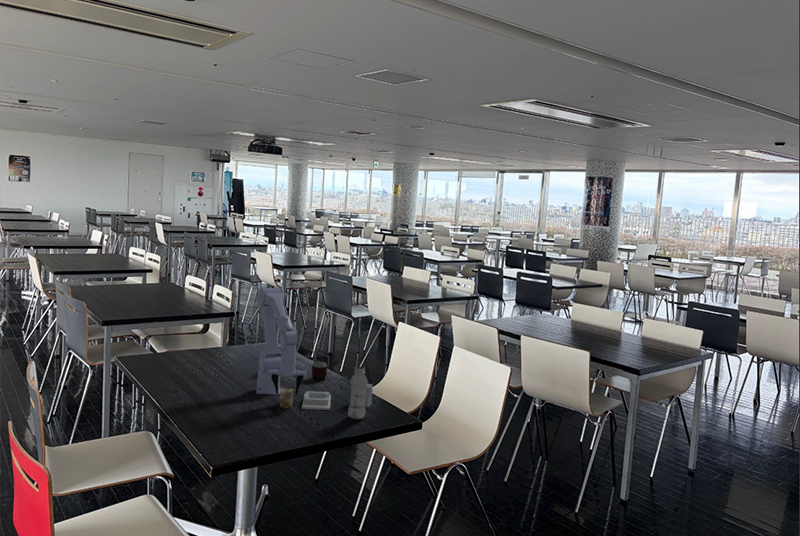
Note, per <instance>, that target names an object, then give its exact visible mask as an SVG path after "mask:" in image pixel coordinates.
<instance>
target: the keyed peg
mask: <svg viewBox="0 0 800 536" xmlns="http://www.w3.org/2000/svg"><path fill="white" fill-rule="evenodd" d="M279 395H280V396H279V397H280V398H279V407H280V408H282V409H288V408H292V406H293V395H294V389H293V388H281V391H280V394H279Z"/></svg>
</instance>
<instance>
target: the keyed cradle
mask: <svg viewBox="0 0 800 536" xmlns="http://www.w3.org/2000/svg"><path fill="white" fill-rule="evenodd" d="M331 400H332V394H330V391H311V390H309V391H308V390H307V391H305V393H304V395H303V400H302V404H301V409H302V410H319V411H321V410H324V411H330V410H331Z"/></svg>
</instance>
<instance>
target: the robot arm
mask: <svg viewBox="0 0 800 536" xmlns="http://www.w3.org/2000/svg"><path fill="white" fill-rule="evenodd" d="M257 293H258V294H257V303H258V308H259V309H260V310H262V319H263V332H264V335H263V336H264V345H265V348H264V349H263V350H262V351H261V352H260V353H259V356H258V357H259V358H258V359H259V361H258V367H259V370H258V371H257V377H256V391H255V392H256V393H255V394H257V395H274V396H275V395H277V396H278V395H280V392H281V389H282V387H280V386H281V377H296V380H295V381H296V383H295V393H294V394H295V395H296V396H297V395H298V393H299V389H300V385H301V383H302V381H303V380H304V378H307V370H300V369H299V370H297V369H296V365H297V364H296V363H297V345H299V343H300V333H299V331H298V329H296V327H294V325H293V323H292V319H291V317H290V316H289V315H287V314H286V310H285V306H284V301H285V290H284V289H283V288H282V287H267V288H262V287H261V288H259V290H258V292H257ZM276 317H277V319H276ZM276 325H277V326H276ZM276 327H277V328H276ZM277 329H278V332H279V343H280V348H281V349H282V351H281V350H280V349H279V348H278V340H277ZM268 355H275V356H268Z"/></svg>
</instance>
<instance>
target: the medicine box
mask: <svg viewBox="0 0 800 536" xmlns="http://www.w3.org/2000/svg"><path fill="white" fill-rule="evenodd" d="M373 386H374V385H373V384H372V383H371V384H370V383H367V388H366V393H365V408H369V407H370V406H372V404H373V403H372V402H373V401H372V400H373Z"/></svg>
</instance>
